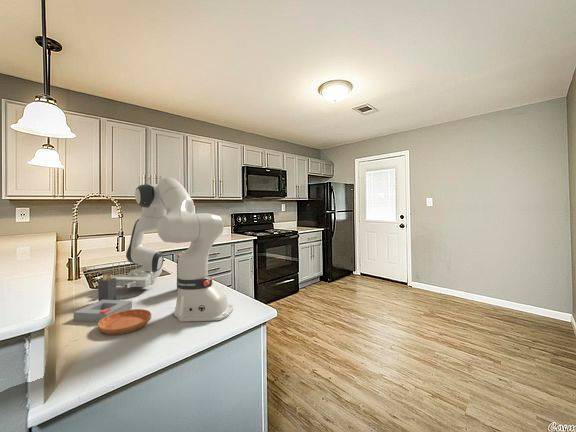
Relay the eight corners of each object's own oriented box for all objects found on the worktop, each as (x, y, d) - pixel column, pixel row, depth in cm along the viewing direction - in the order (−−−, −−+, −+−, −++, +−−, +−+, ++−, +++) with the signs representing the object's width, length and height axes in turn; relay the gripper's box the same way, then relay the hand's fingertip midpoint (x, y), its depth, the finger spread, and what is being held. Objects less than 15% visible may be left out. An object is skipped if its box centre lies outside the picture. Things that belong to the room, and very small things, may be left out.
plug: (116, 300, 114) (115, 273, 114) (108, 303, 110) (107, 276, 110) (106, 299, 115) (106, 273, 114) (98, 303, 110) (97, 276, 110)
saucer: (157, 326, 90) (157, 318, 90) (101, 343, 79) (101, 333, 79) (144, 312, 102) (144, 305, 101) (94, 325, 91) (94, 317, 91)
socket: (132, 308, 105) (131, 299, 105) (106, 322, 93) (106, 312, 92) (102, 306, 107) (102, 297, 107) (73, 320, 94) (73, 310, 94)
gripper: (118, 271, 132) (95, 278, 118) (155, 272, 130) (137, 279, 116) (118, 283, 132) (95, 292, 118) (156, 284, 130) (137, 293, 116)
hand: (116, 285), depth 117 cm, fingers open, 8 cm apart
